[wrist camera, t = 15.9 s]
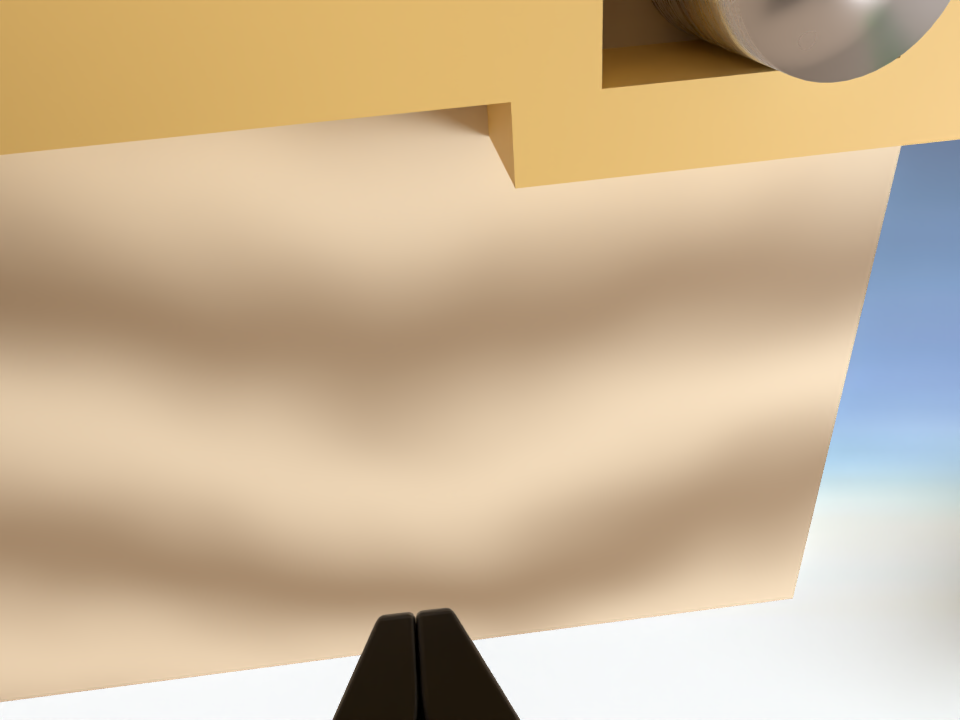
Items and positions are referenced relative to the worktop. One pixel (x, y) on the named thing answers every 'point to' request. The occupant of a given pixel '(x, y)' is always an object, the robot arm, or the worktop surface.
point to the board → (404, 388)
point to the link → (449, 81)
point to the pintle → (808, 31)
